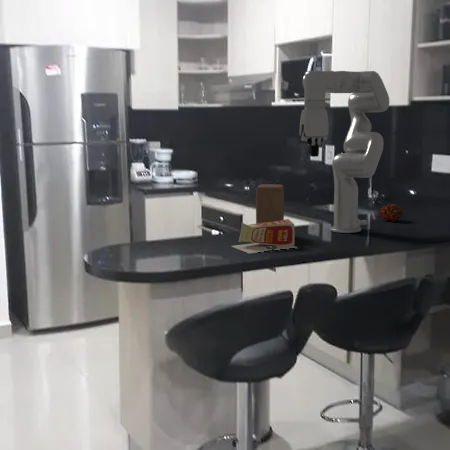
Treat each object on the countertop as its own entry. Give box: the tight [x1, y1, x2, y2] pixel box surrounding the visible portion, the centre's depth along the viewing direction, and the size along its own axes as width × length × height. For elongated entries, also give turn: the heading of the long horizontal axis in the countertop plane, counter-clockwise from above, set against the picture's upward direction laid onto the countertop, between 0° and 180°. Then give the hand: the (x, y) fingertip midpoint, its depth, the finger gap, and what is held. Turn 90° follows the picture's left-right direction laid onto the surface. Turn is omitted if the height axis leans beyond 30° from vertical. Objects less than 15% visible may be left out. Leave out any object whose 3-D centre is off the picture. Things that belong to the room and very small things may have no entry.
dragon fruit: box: [378, 203, 404, 222], centre depth 286 cm, size 8×8×12 cm
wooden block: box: [255, 183, 285, 224], centre depth 255 cm, size 10×10×20 cm
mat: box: [231, 243, 298, 255], centre depth 234 cm, size 20×14×1 cm
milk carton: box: [238, 218, 296, 246], centre depth 236 cm, size 9×9×20 cm
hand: (314, 156), depth 237 cm, fingers closed
